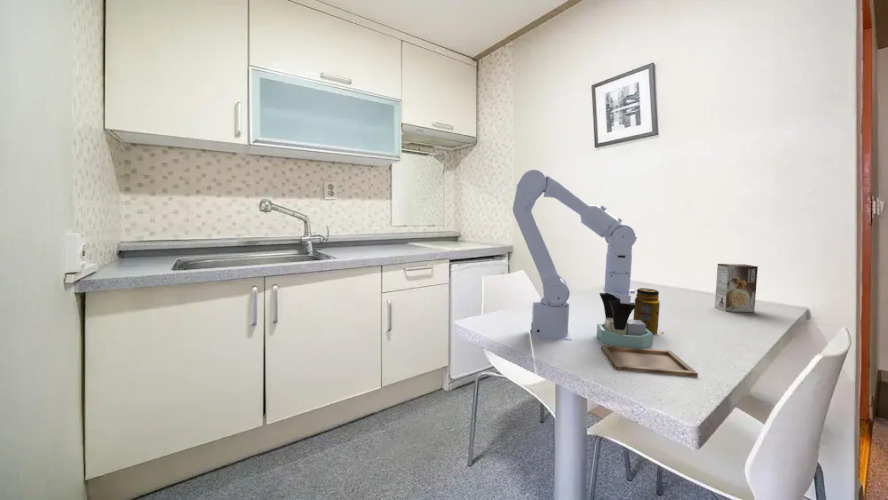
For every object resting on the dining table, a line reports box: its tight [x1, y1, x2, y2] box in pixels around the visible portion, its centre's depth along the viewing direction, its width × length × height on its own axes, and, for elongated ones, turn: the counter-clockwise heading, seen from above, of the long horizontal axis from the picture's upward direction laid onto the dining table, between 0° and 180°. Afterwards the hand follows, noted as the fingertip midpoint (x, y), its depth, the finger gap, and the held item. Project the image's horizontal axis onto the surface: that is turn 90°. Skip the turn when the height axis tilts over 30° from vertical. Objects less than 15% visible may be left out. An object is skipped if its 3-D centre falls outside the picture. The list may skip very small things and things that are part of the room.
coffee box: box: [714, 263, 759, 313], centre depth 120 cm, size 9×6×16 cm
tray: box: [600, 344, 699, 378], centre depth 75 cm, size 15×12×1 cm
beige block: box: [604, 317, 627, 335], centre depth 88 cm, size 4×4×5 cm
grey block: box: [626, 318, 646, 336], centre depth 87 cm, size 4×4×5 cm
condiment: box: [632, 287, 665, 335], centre depth 95 cm, size 7×8×12 cm
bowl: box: [596, 321, 654, 349], centre depth 87 cm, size 12×12×4 cm
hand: (614, 324), depth 88 cm, fingers open, 7 cm apart
